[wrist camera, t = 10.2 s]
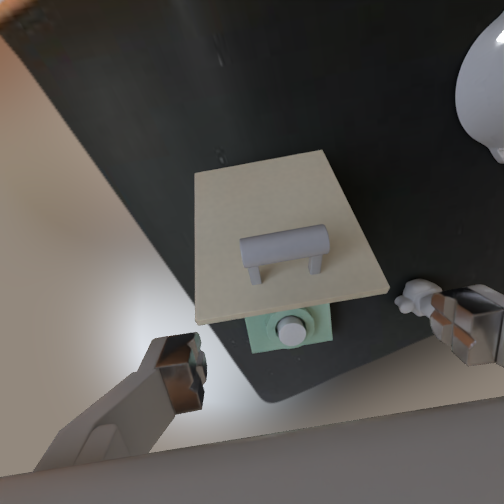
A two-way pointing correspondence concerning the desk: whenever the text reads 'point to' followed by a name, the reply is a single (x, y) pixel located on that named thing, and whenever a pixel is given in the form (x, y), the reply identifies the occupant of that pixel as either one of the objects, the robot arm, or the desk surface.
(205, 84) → the desk surface
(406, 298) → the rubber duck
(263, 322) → the green button base
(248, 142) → the desk surface
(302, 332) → the flush button
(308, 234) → the beige cover lid
